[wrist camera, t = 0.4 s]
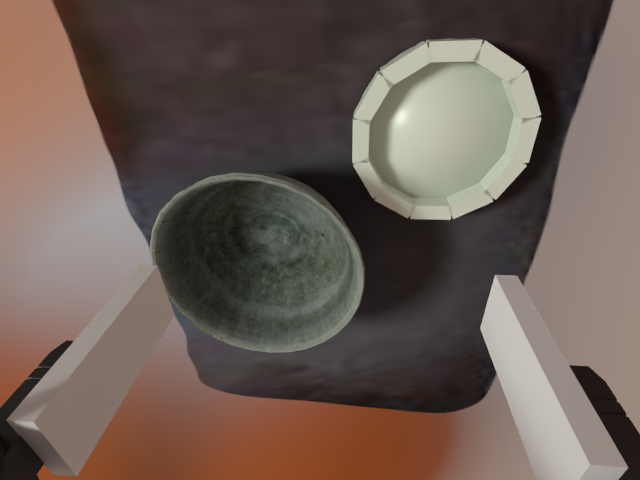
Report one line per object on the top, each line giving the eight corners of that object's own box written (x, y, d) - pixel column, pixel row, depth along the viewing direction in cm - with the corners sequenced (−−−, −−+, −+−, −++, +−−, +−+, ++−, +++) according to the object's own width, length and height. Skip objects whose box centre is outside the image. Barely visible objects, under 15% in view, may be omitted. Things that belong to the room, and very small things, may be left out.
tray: (354, 41, 32) (353, 43, 29) (547, 35, 30) (564, 37, 28) (352, 205, 40) (351, 218, 38) (502, 207, 39) (512, 220, 36)
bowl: (337, 310, 49) (332, 372, 41) (184, 272, 48) (146, 327, 39) (390, 170, 38) (398, 215, 29) (192, 115, 37) (142, 146, 28)
